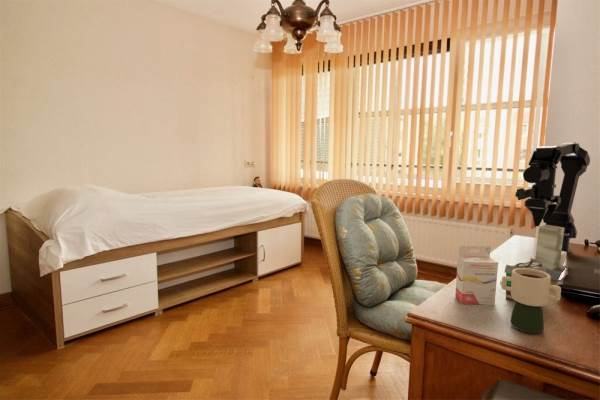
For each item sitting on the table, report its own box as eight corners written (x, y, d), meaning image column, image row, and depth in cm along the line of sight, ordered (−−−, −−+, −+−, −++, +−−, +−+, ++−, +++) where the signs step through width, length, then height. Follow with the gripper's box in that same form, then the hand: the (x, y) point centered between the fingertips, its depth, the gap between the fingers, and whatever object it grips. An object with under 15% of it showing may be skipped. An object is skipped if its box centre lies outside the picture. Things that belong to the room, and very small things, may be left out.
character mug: (557, 329, 76) (562, 273, 74) (555, 343, 71) (561, 283, 69) (501, 315, 83) (505, 264, 81) (496, 327, 77) (500, 272, 76)
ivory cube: (548, 262, 122) (549, 248, 121) (565, 265, 118) (566, 251, 118) (543, 265, 119) (544, 251, 118) (561, 268, 115) (562, 254, 114)
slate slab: (535, 268, 117) (536, 260, 116) (568, 276, 110) (568, 267, 109) (525, 274, 111) (526, 266, 111) (559, 282, 104) (560, 273, 104)
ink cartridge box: (461, 304, 89) (464, 250, 87) (454, 296, 94) (457, 244, 92) (495, 305, 88) (499, 250, 86) (487, 297, 93) (490, 245, 91)
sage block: (541, 262, 113) (546, 224, 111) (559, 267, 109) (564, 227, 107) (534, 265, 111) (539, 226, 109) (551, 270, 107) (557, 229, 105)
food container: (526, 309, 86) (529, 271, 84) (502, 300, 91) (504, 264, 90) (553, 299, 91) (556, 263, 90) (529, 291, 97) (531, 257, 95)
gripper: (528, 179, 134) (525, 218, 136) (509, 182, 122) (506, 224, 124) (563, 180, 125) (559, 222, 127) (546, 183, 114) (542, 229, 116)
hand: (541, 224), depth 124 cm, fingers open, 9 cm apart
